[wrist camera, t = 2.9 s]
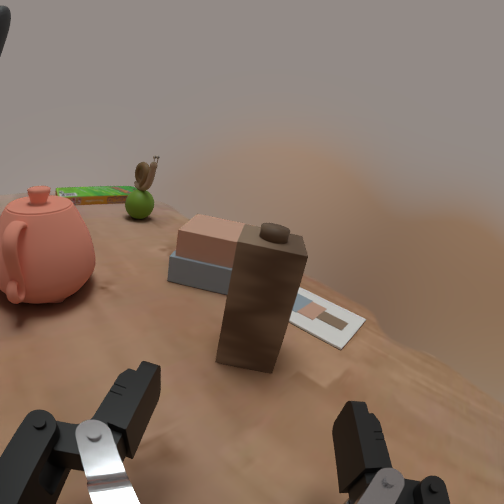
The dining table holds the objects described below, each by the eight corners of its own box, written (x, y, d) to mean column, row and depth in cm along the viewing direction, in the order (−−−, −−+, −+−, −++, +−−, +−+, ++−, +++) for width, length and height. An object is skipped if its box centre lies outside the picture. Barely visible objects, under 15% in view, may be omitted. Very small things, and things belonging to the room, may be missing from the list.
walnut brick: (215, 362, 22) (239, 229, 18) (224, 330, 26) (246, 213, 22) (271, 373, 22) (311, 244, 18) (273, 340, 26) (304, 226, 22)
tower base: (167, 280, 32) (172, 230, 30) (189, 253, 41) (194, 212, 39) (245, 298, 32) (256, 248, 30) (252, 267, 41) (261, 226, 39)
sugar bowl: (104, 264, 32) (108, 179, 29) (79, 337, 20) (70, 213, 16) (20, 256, 28) (17, 175, 25) (-32, 317, 16) (-52, 206, 13)
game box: (55, 200, 56) (132, 193, 69) (58, 212, 50) (146, 203, 63) (55, 187, 55) (133, 182, 68) (58, 197, 48) (147, 190, 62)
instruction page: (259, 305, 31) (259, 303, 31) (296, 286, 38) (296, 284, 37) (340, 350, 26) (341, 347, 26) (365, 320, 32) (366, 318, 32)
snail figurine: (136, 225, 47) (144, 155, 43) (119, 215, 51) (125, 151, 46) (161, 222, 52) (170, 156, 47) (142, 213, 55) (150, 152, 51)
